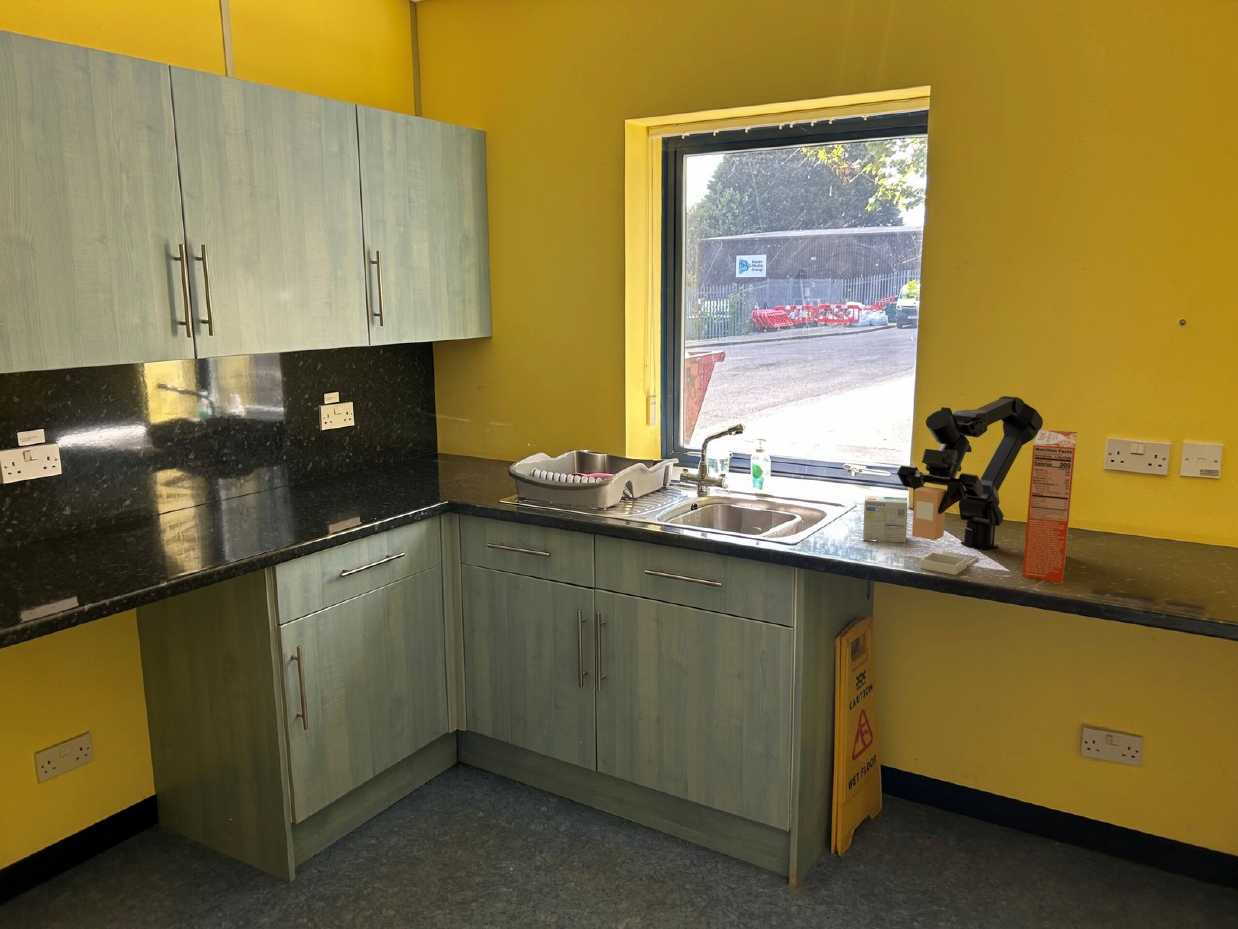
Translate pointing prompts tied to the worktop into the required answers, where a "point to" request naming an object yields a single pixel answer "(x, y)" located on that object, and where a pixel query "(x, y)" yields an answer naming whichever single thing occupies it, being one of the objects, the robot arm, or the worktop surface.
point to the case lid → (969, 558)
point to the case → (943, 563)
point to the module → (928, 513)
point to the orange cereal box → (1049, 505)
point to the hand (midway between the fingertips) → (926, 511)
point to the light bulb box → (885, 518)
